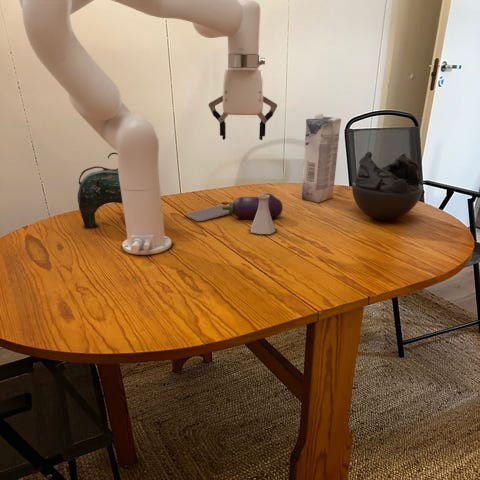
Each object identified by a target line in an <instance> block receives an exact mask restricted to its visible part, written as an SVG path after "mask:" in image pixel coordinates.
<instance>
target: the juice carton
mask: <svg viewBox="0 0 480 480" xmlns="http://www.w3.org/2000/svg"><path fill="white" fill-rule="evenodd" d="M341 122H342V119H341V118H340V117H339V118H338V117H333V116H332V117H331V116H324V113H314V114H313V118H306V119H305V134H304V135H305V137H304V150H303V151H304V152H303V167H302V180H301V182H302V183H301V199H302V200H304V201H309V202H312V203H321V202H324V201H326V200H330V199H332V198H333V194H334V189H335V180H336V171H337V161H338V152H339V151H338V150H339V142H340V129H341V124H342V123H341Z"/></svg>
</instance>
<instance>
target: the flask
mask: <svg viewBox="0 0 480 480" xmlns="http://www.w3.org/2000/svg"><path fill="white" fill-rule="evenodd" d="M257 197H258V198H259V205H258V210H257V213H256V216H255V219H253V222H252V224H251V227H250V233H252V234H257V235H271V234H273V233H275V232H276V228H275V225H274V222H273V218H271V215H270V211H269V205H268V199H269V195H266V193H261V194H258V195H257Z"/></svg>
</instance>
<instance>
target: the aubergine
mask: <svg viewBox="0 0 480 480" xmlns="http://www.w3.org/2000/svg"><path fill="white" fill-rule="evenodd" d="M265 194H266V195H269V199H268V205H269V211H270V215H271V218H272V219H276V218H278V217H279V216H280V215H281V214H282V212H283V210H284V209H283V208H284V206H283V202H282V201H281V199H279V198H278V197H276V195H274V194H272V193H268V192H266V193H265ZM258 205H259V198H258V196H240V197H238V198H236V199H235V200H234V201H229V202H228V205H227V206H223V210H229V214H228V215H234V216H235V217H236V218H238V219H243V220H247V219H248V220H249V219H250V220H251V219H252V220H254V219H255V216H256V213H257V210H258Z"/></svg>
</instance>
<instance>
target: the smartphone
mask: <svg viewBox="0 0 480 480" xmlns="http://www.w3.org/2000/svg"><path fill="white" fill-rule="evenodd" d="M223 206H228V205H227V204H219V205H215V206H211V207H207V208H203V209H198V210H195V211H190V212H186V217H187V218H189V219H192V220H194V221H197V222H204V221H206V220H211V219H215V218H218V217H222V216H227V215H230V214H229V210H223Z"/></svg>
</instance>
